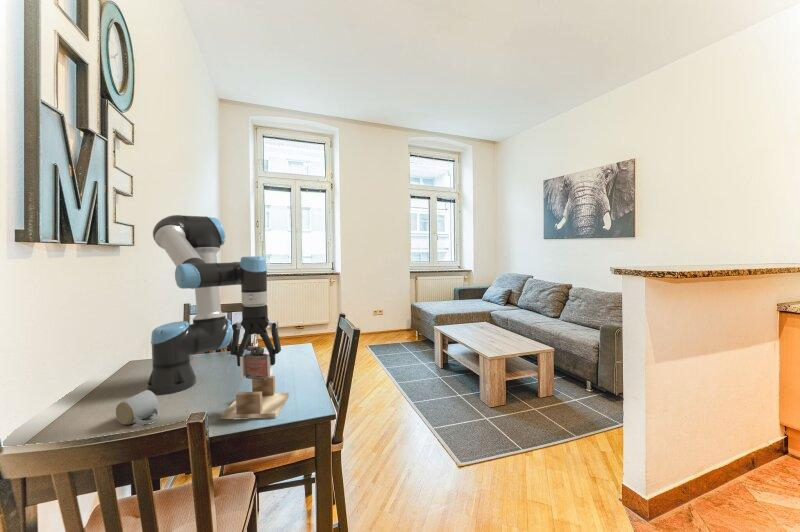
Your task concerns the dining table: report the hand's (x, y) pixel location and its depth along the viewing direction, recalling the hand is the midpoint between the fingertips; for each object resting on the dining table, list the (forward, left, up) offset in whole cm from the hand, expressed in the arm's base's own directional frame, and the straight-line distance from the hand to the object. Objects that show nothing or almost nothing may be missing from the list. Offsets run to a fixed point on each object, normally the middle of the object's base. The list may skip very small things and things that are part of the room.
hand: (256, 375), depth 110 cm
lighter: (0, 0, -1) cm, 1 cm away
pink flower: (-15, +50, -11) cm, 53 cm away
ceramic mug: (-32, -6, -11) cm, 34 cm away
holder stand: (0, 0, -11) cm, 11 cm away
